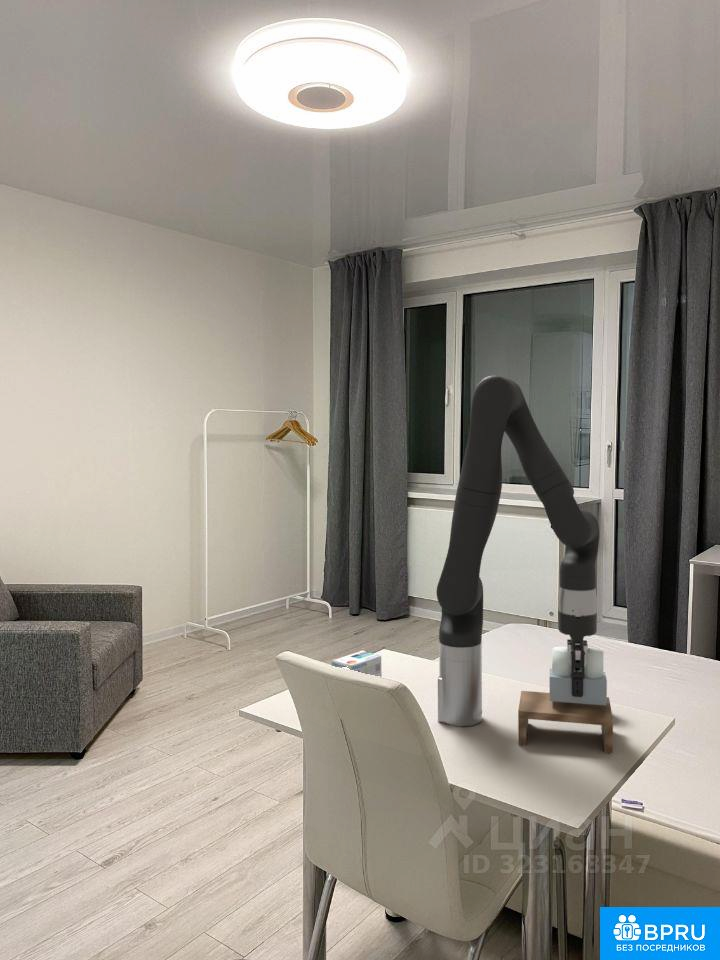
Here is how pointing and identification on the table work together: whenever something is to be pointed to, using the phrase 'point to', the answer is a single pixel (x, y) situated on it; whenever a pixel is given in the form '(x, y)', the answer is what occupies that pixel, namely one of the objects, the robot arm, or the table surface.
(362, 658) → the light bulb box
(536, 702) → the walnut shelf
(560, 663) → the salt and pepper set
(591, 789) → the table surface
